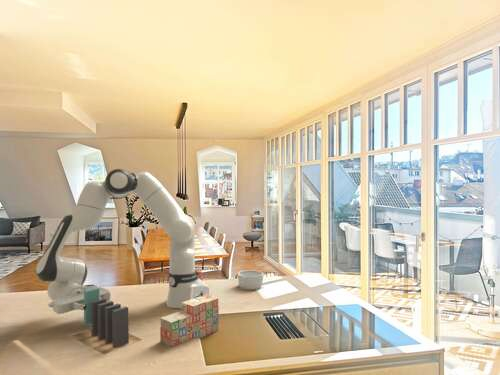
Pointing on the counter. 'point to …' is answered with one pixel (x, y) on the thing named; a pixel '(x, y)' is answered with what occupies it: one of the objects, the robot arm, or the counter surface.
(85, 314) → the domino
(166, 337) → the stack of blocks
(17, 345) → the counter surface
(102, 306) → the domino
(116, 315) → the domino
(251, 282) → the ramekin
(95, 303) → the domino
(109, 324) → the domino
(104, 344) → the oak board
